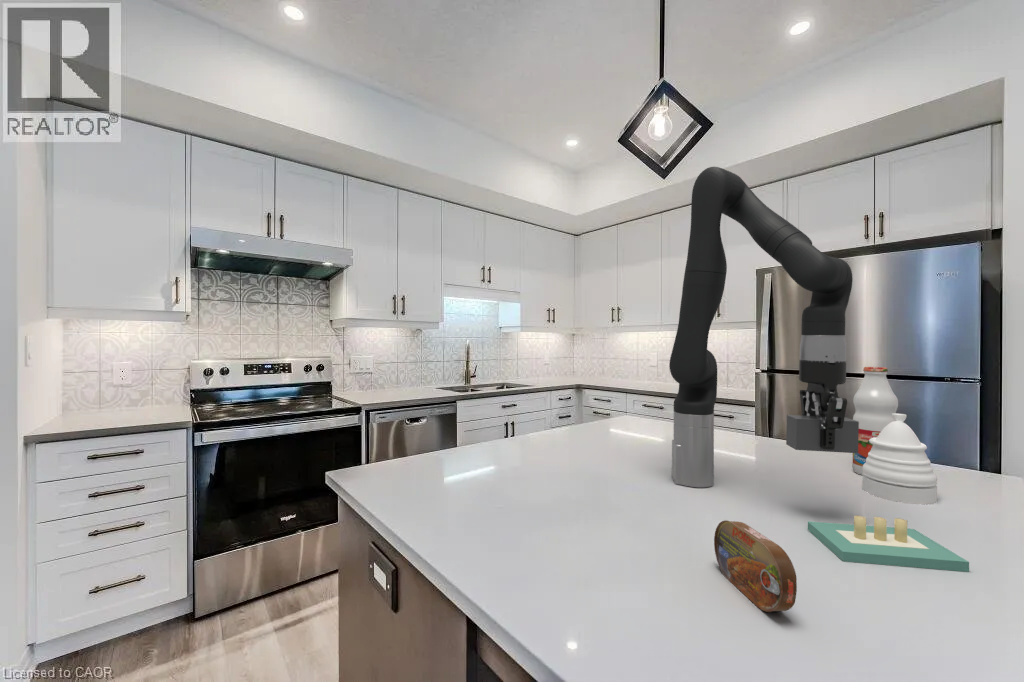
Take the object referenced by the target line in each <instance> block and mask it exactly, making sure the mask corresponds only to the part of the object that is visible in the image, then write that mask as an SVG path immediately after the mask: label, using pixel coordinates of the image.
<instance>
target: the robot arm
mask: <svg viewBox="0 0 1024 682" xmlns="http://www.w3.org/2000/svg"><path fill="white" fill-rule="evenodd" d="M692 187H693V188H692V191H691V204H690V205H691V206H690V207H691V210H690V211H691V212H690V228H689V229H690V231H689V239H688V248H687V255H686V263H685V269H684V273H683V274H684V275H683V282H682V290H681V292H682V293H681V299H680V300H681V301H680V307H679V315H678V318H679V319H678V325H677V328H676V329H677V330H676V335H675V338H674V341H673V345H672V346H673V347H672V350H671V354H670V359H669V367H668V368H669V371H670V375H671V377H672V378H673V380H674V381H675V382H676V383H678V392H677V395H676V396H675V399H674V400H673V439H672V440H671V478H672V481H674V484H675V485H682V486H685V487H686V486H687V487H692V488H710V487H713V486H714V483H715V413H714V412H715V404H716V401H717V398H718V397H717V395H718V364H717V359H716V357H715V356H714V354H713V353H712V352H711V351H710V350H709V349H708V345H709V344H708V343H709V335H710V329H711V326H712V323H713V322H714V321H713V320H714V318H715V316H716V314H717V311H718V309H719V307H720V304H721V302H722V299H723V295H724V291H725V285H726V279H727V268H728V263H727V258H726V257H727V256H726V251H725V247H724V245H723V241H722V236H721V235H722V234H721V222H722V221H721V220H722V215H725V216H727V217H728V218H730V219H732V220H734V221H735V222H737V223H739V225H741V226H742V227H743V228H744V229H745V230H746V231H747V233H748V234H749V235H750V237H751V238H752V240H753V241H754V242H755V243H756V244H757V246H759V248H761V249H762V250H763V251H764V252H765V253H766V254H768V255H769V256H770V258H772V259H774V261H776V262H777V263H778V264H780V265H781V267H782V268H783V269H784V271H785V272H786V273H787V274H788V276H789V277H790V278H791V279H792V280H793V282H795V283H796V284H797V285H798V286H799V287H801V288H803V290H804V289H805V290H806V291H810V292H811V297H810V304H809V305H808V306H806V307H805V308H804V309H803V311H802V314H801V332H800V333H801V334H800V335H801V337H800V343H799V358H798V359H799V366H798V367H799V370H798V380H799V381H800V382H802V383H806V384H807V387H806V389H800V390H799V396H800V397H799V398H800V399H799V400H800V407H801V408H800V409H801V415H803V416H817V417H819V420H820V427H821V429H820V447H821V448H822V449H829V450H833V449H834V448H835V430H837V429H838V428H840V429H842V428H843V423H844V417H846V411H847V405H848V400H847V398H846V397H840V396H839V392H838V388H837V387H838V385H845V383H846V382H847V341H846V312H847V308H848V305H849V301H850V296H851V293H852V289H853V271H852V268H851V267H850V264H849V263H848V262H846V260H844V259H841V258H838V257H835V256H829V255H827V254H825V253H824V252H822V251H821V250H819V249H818V248H817V247H816V246H815V245H813V241H812V240H811V238H810V237H809V236H808V235H807V234H805V233H804V232H802V231H801V230H800V229H799V228H798V227H796V226H795V225H794V224H792V223H791V222H789V221H788V220H786V219H785V218H784V217H783V216H781V215H779V214H778V213H777V212H775V211H774V210H772V208H770V207H769V206H767V205H766V204H765V203H764V202H763V201H762V200H761V199H760V198H759V197H758V196H757V195H756V194H755V193H754V192H753V190H752V189H751V188H750V186H748V184H747V183H746V182H745V181H744V180H743V179H742V177H741V176H739V175H737V174H736V173H733V172H732V171H729V170H727V169H725V168H722V167H719V166H710V167H709V166H708V167H707V168H704V170H702V171H701V172H700V173H699V174H698V176H697V178H696V179H695V181H694V184H693V186H692ZM825 417H826V421H825ZM837 417H838V420H837Z"/></svg>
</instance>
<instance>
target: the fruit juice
mask: <svg viewBox="0 0 1024 682" xmlns="http://www.w3.org/2000/svg"><path fill="white" fill-rule="evenodd" d="M862 371H863V374H864V377H863V379H862V381H861V384H860V386H859V388H858V389H857V391H856V393H855V394H854V396H853V399H852V400H853V406H854V408H855V412H854V414H853V417H852V420H855V421H858V422H859V434H858V453H852V470H853V472H854V473H856V474H858V475H860V476H862V474H863V473H862V471H863V469H862V467H863V465H864V464H865V463H866V458H867V457H868V452H870V450H871V448H872V446H873V444H871V443H870V442H869V439H871V438H875V437H878V435H879V434H880V432H881V431H882V430H883V429H884V427H885V426H887V425H888V424H889V423H891V422H893V421H895V420H894V419H893V417H892V414H893V413H897V411H898V407H899V399H898V397H897V396H896V394H895V393H894V391H893V389H892V387H891V385H890V381H889V380H888V377H887V375H888V371H889V369H888V368H887V367H883V366H864V367H863V370H862Z"/></svg>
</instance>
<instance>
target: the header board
mask: <svg viewBox="0 0 1024 682" xmlns="http://www.w3.org/2000/svg"><path fill="white" fill-rule="evenodd" d="M853 518H854V519H853V524H850V523H849V524H848V523H837V522H835V523H834V522H823V521H822V522H820V521H807V530H808V532H810V533H811V534H812V535H813V536H814V537H816V539H817V540H818V541H820V543H822V545H824V546H825V547H826V548H828V550H830V551H831V552H832V553H833V554H834V555H836V557H837V558H839V559H840V561H842V562H847V563H848V562H850V563H859V564H860V563H861V564H873V565H882V566H883V565H885V566H894V567H895V566H899V567H905V568H906V567H907V568H919V569H932V570H943V571H955V572H966V573H970V561H968V560H967V559H965V558H963V557H961V556H960V555H958V554H957V553H955V552H954V551H952V550H950V549H949V548H946V547H945V546H944V545H941V544H940V543H938V542H936V541H934V539H931V538H930V537H929V536H927V535H925V534H923V533H921V531H918V530H917V529H915V528H908V520H906V519H903V518H899V517H898V518H897V517H895V518H894V527H892V526H887V522H888V521H887V519H886V518H885V517H880V516H874V517H873V525H867V518H866V517H865V516H862V515H853Z"/></svg>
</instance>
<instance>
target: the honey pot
mask: <svg viewBox="0 0 1024 682" xmlns="http://www.w3.org/2000/svg"><path fill="white" fill-rule="evenodd" d="M892 417H893V419H894V420H895V421H893V422H891V423H889V424H888V425H887V426H885V427H884V429H883V430H882V431H881V432H880V434H879V435H878V437H875V438H871V439H869V442H870V443H871V444H873V446H872V448H871V450H870V452H868V457H867V458H866V463H865V464H864V465H863V467H862V469H863V471H862V473H863V474H862V475H861V476H862V477H861V478H862V479H861V480H862V483H861V484H862V488H861V489H862V490H863V492H865V491H866V492H868V493H869V495H870V496H873V495H874V497H876V496H877V497H876V498H879V497H880V499H884V500H886V499H887V501H892V502H895V501H896V502H895V503H901V502H902V504H908V503H910V504H909V505H919V504H921V505H922V506H924V505H925V504H926V506H927V505H928V504H929V505H935V504H937V502H938V486H937V484H938V482H937V481H938V477H937V475H936V474H935V472H934V468H933V466H932V465H931V464H932V463H931V460H930V459H929V458H928V455H927V453H926V452H925V451H926V450H927V449H928V447H927V445H926V444H925V443H923V442H921V441H920V439H919V438H918V436H917V435H916V433H915V432H914V430H913V429H912V428H911V427H910V426H909V425H908V424H907V423H906V422H905V420H906V419H907V417H908V416H907V414H905V413H897V412H896V413H893V414H892ZM866 492H865V493H866ZM868 493H867V494H868ZM934 503H935V504H934ZM921 505H920V506H921Z"/></svg>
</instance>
